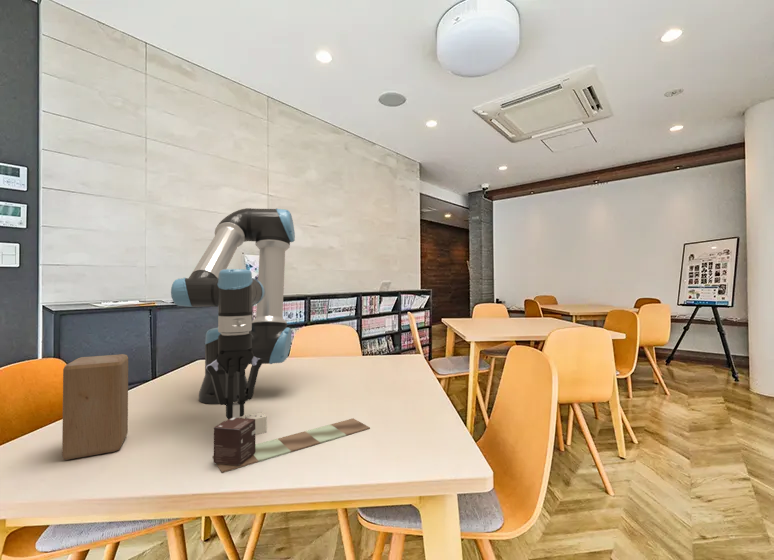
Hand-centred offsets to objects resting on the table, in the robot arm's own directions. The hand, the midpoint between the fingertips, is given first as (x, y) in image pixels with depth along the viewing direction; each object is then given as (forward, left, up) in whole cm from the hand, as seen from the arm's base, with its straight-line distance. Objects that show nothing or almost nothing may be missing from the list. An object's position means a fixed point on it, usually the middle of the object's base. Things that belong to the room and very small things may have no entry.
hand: (235, 431), depth 86 cm
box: (+12, -3, -1) cm, 13 cm away
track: (+12, +11, -1) cm, 16 cm away
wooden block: (-13, -26, -2) cm, 29 cm away
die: (0, +5, -2) cm, 5 cm away
